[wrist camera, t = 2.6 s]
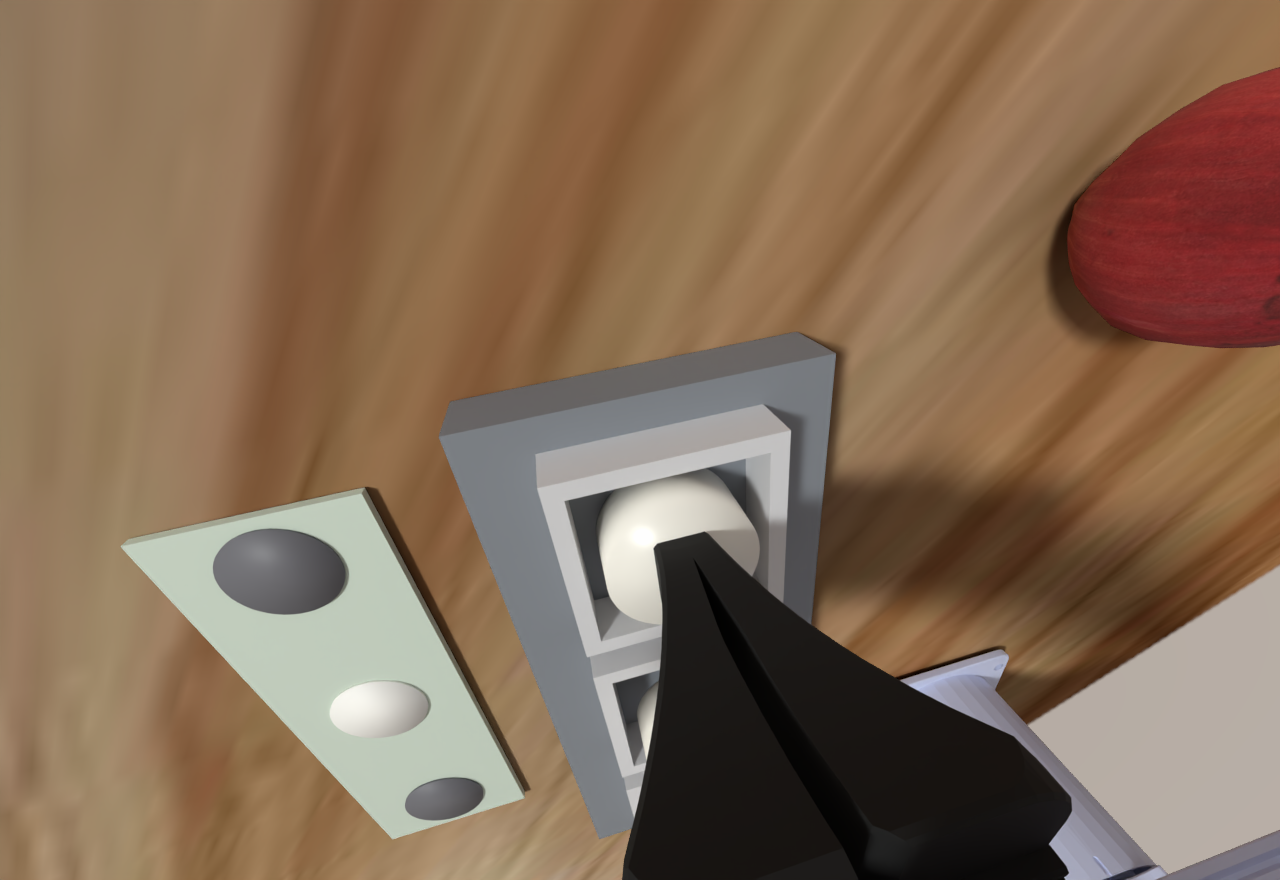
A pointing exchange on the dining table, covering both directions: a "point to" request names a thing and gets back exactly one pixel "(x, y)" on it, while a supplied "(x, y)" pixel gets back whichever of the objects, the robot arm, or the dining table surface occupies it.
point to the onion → (1190, 224)
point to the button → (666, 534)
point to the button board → (619, 457)
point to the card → (339, 652)
